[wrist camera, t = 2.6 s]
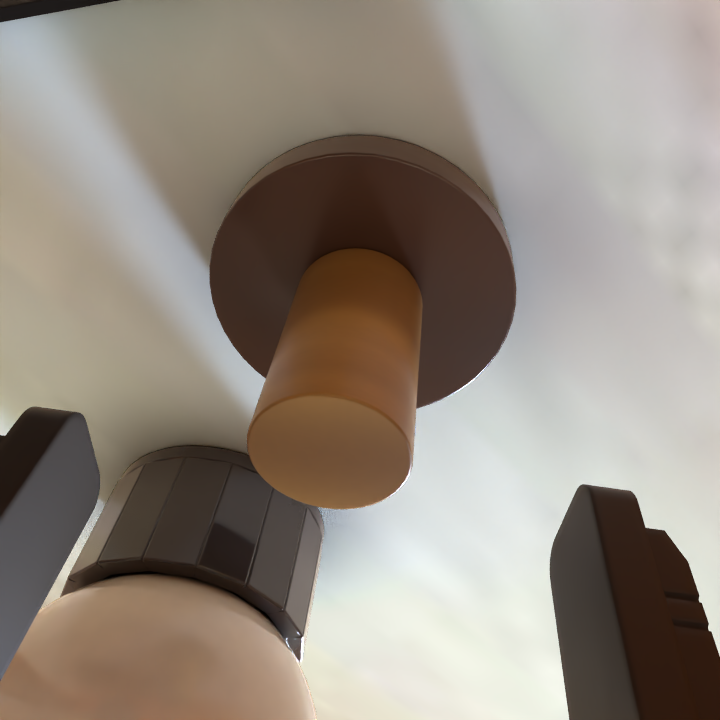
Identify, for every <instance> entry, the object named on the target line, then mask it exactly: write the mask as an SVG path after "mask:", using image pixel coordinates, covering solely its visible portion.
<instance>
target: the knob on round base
mask: <svg viewBox="0 0 720 720" xmlns="http://www.w3.org/2000/svg"><path fill="white" fill-rule="evenodd" d="M210 288H211V295H212V300H213V304H214V307H215V310H216V313H217V317H218V319H219V321H220V323H221V325H222V327H223V330H224V332H225V333H226V335H227V336H228V338H229V340H230V341H231V343H232V344H233V346H234V347H235V348H236V350H237V351H238V352H239V353H240V355H241V356H242V357H243V358H244V359H245V360H246V361H247V362H248V363H249V364H250V365H251V366H252V367H253V368H254V369H255V370H256V371H257V372H258V373H260V374H261V375H262V376H263V377H265V378H266V380H265V383H264V386H263V389H262V392H261V395H260V398H259V400H258V403H257V406H256V409H255V412H254V415H253V418H252V421H251V424H250V426H249V430H248V434H247V449H248V454H249V457H250V460H251V462H252V464H253V466H254V467H255V469H256V470H257V472H258V473H259V474H260V475H261V477H262V478H263V479H264V480H265V481H266V482H267V483H269V484H270V485H271V486H272V487H274V488H275V489H276V490H278V491H279V492H281V493H283V494H284V495H286V496H288V497H290V498H292V499H295V500H297V501H300V502H302V503H305V504H309V505H313V506H317V507H322V508H330V509H354V508H361V507H366V506H369V505H373V504H376V503H378V502H381V501H383V500H385V499H387V498H389V497H390V496H392V495H393V494H394V493H396V492H397V491H398V490H399V489H400V488H401V487H402V486H403V484H404V483H405V482H406V480H407V478H408V477H409V475H410V472H411V469H412V465H413V452H414V436H415V420H416V409H417V408H420V407H423V406H426V405H430V404H433V403H435V402H437V401H440V400H442V399H444V398H446V397H449V396H450V395H452V394H454V393H455V392H457V391H459V390H460V389H462V388H464V387H465V386H466V385H467V384H469V383H470V382H471V381H473V380H474V379H475V378H476V377H477V376H478V375H479V374H480V373H481V372H482V371H483V370H484V369H485V368H486V367H487V366H488V365H489V364H490V363H491V361H492V360H493V359H494V357H495V356H496V355H497V353H498V352H499V350H500V348H501V346H502V345H503V343H504V341H505V339H506V337H507V335H508V332H509V329H510V326H511V324H512V320H513V315H514V310H515V306H516V281H515V273H514V265H513V258H512V252H511V247H510V243H509V239H508V236H507V232H506V230H505V227H504V225H503V223H502V221H501V219H500V216H499V214H498V213H497V211H496V209H495V208H494V206H493V205H492V203H491V202H490V200H489V199H488V197H487V196H486V195H485V194H484V193H483V191H482V190H481V189H480V188H479V187H478V186H477V185H476V183H475V182H474V181H473V180H471V179H470V178H469V177H468V176H467V175H466V174H464V173H463V172H462V171H461V170H460V169H459V168H457V167H456V166H454V165H453V164H451V163H449V162H448V161H446V160H445V159H443V158H442V157H440V156H438V155H436V154H434V153H432V152H430V151H428V150H425V149H423V148H421V147H418V146H415V145H412V144H409V143H406V142H403V141H400V140H394V139H389V138H384V137H378V136H361V135H353V136H340V137H332V138H327V139H322V140H318V141H313V142H310V143H308V144H305V145H302V146H300V147H297V148H294V149H292V150H290V151H288V152H287V153H285V154H283V155H281V156H279V157H277V158H276V159H274V160H273V161H272V162H270V163H269V164H267V165H266V166H265V167H263V168H262V169H261V170H260V171H259V172H258V173H257V174H256V175H255V176H254V177H253V178H252V179H251V180H250V181H249V182H248V183H247V184H246V186H245V187H244V188H243V190H242V191H241V192H240V194H239V195H238V197H237V198H236V200H235V201H234V203H233V205H232V206H231V208H230V210H229V211H228V213H227V215H226V216H225V218H224V220H223V222H222V224H221V226H220V228H219V230H218V232H217V235H216V238H215V241H214V244H213V248H212V253H211V259H210Z"/></svg>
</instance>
